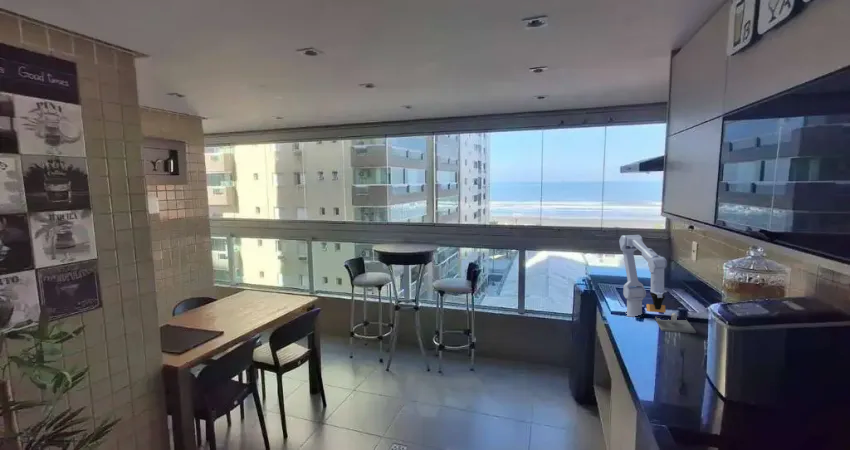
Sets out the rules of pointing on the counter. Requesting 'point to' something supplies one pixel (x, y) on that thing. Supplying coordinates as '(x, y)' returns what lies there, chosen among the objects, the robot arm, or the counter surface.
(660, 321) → the keeper plate
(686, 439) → the counter surface
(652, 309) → the orange rectangular frame
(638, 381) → the counter surface
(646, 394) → the counter surface
